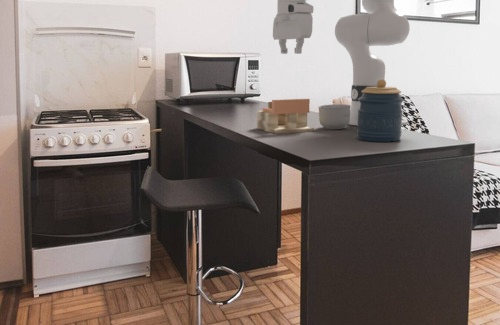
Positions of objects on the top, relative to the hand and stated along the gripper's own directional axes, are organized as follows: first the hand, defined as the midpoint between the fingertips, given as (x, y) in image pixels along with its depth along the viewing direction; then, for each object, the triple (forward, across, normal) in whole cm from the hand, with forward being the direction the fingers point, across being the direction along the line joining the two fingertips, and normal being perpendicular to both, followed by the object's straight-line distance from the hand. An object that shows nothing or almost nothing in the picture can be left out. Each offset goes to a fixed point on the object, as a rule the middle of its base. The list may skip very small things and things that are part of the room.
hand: (290, 53), depth 158 cm
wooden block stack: (+25, -3, 0) cm, 25 cm away
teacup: (+26, -1, +18) cm, 31 cm away
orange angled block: (+19, -3, 0) cm, 19 cm away
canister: (+25, +26, +16) cm, 40 cm away
